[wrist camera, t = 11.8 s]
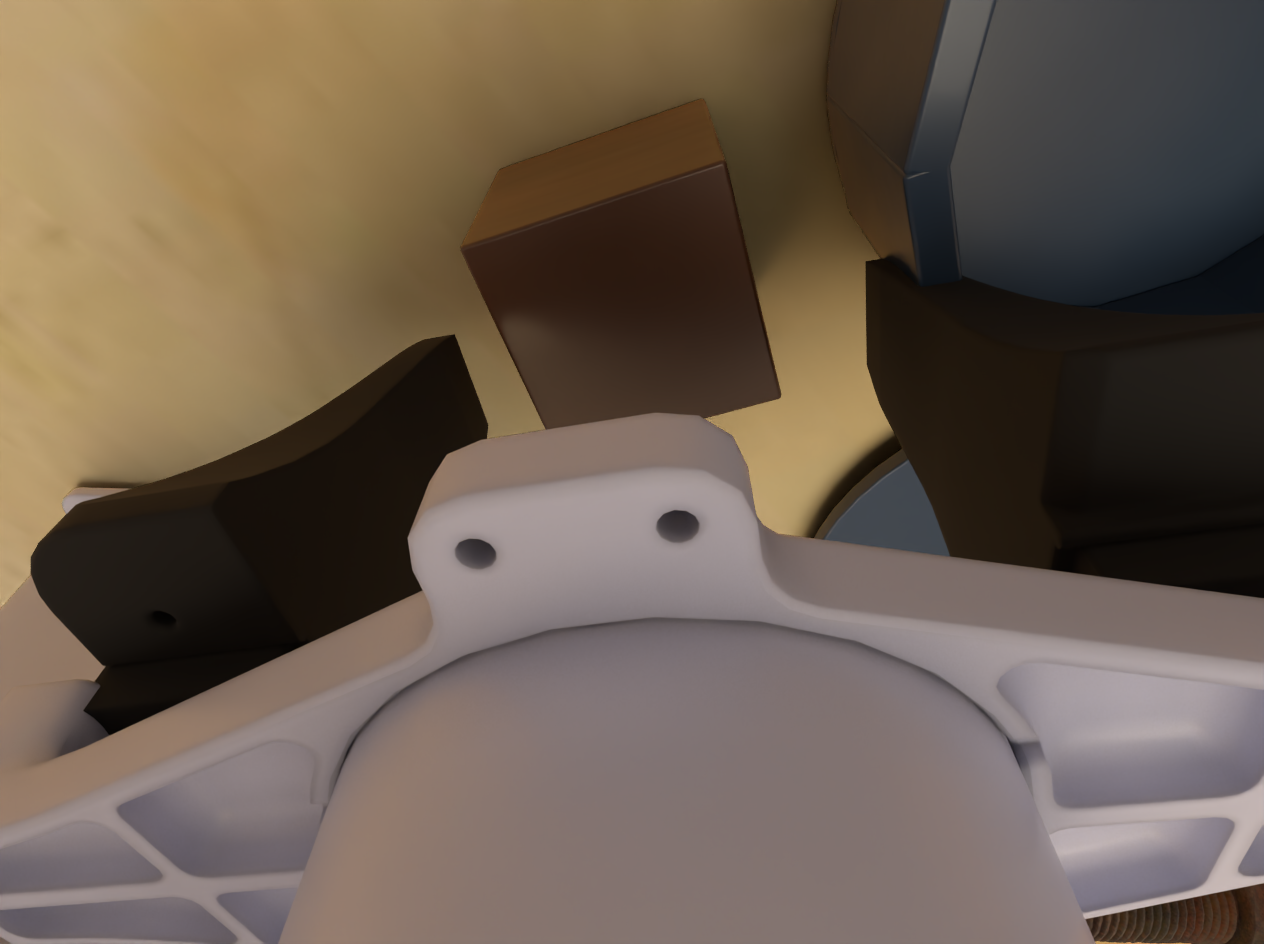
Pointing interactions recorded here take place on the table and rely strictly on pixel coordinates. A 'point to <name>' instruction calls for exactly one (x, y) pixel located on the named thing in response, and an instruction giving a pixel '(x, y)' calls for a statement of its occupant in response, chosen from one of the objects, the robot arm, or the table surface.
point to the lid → (887, 512)
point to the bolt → (1189, 920)
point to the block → (625, 276)
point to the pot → (1058, 146)
